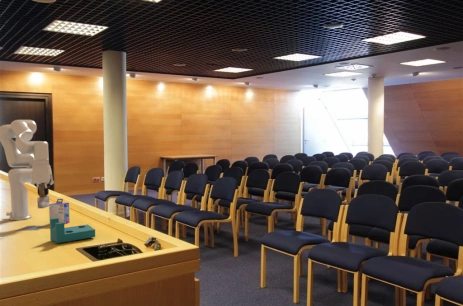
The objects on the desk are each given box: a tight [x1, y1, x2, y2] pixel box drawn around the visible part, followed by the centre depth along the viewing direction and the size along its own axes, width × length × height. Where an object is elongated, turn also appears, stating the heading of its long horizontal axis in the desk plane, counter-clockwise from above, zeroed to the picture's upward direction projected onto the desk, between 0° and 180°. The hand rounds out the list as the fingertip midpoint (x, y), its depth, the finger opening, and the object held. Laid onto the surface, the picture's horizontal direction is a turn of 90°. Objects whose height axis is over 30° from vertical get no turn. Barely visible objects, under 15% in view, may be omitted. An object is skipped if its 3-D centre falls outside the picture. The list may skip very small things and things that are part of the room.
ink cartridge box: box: [48, 198, 71, 225], centre depth 248 cm, size 10×6×14 cm, turn 78°
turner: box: [36, 183, 51, 209], centre depth 249 cm, size 3×8×13 cm, turn 177°
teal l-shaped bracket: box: [49, 218, 96, 244], centre depth 209 cm, size 18×11×10 cm, turn 127°
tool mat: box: [15, 225, 47, 232], centre depth 237 cm, size 12×12×1 cm
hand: (43, 194), depth 249 cm, fingers closed on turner, 3 cm apart
